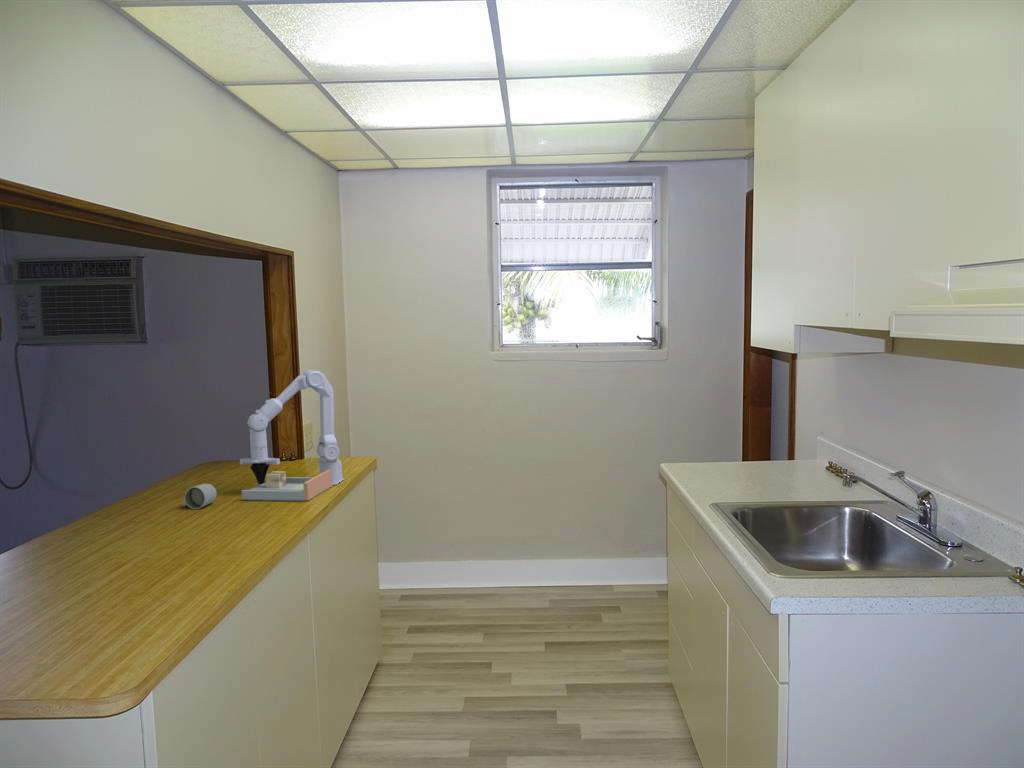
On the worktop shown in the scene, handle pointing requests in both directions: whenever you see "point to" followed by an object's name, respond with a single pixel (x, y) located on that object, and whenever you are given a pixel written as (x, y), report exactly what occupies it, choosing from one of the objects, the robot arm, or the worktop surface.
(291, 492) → the box
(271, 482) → the birch block
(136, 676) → the worktop surface
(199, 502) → the ceramic mug
